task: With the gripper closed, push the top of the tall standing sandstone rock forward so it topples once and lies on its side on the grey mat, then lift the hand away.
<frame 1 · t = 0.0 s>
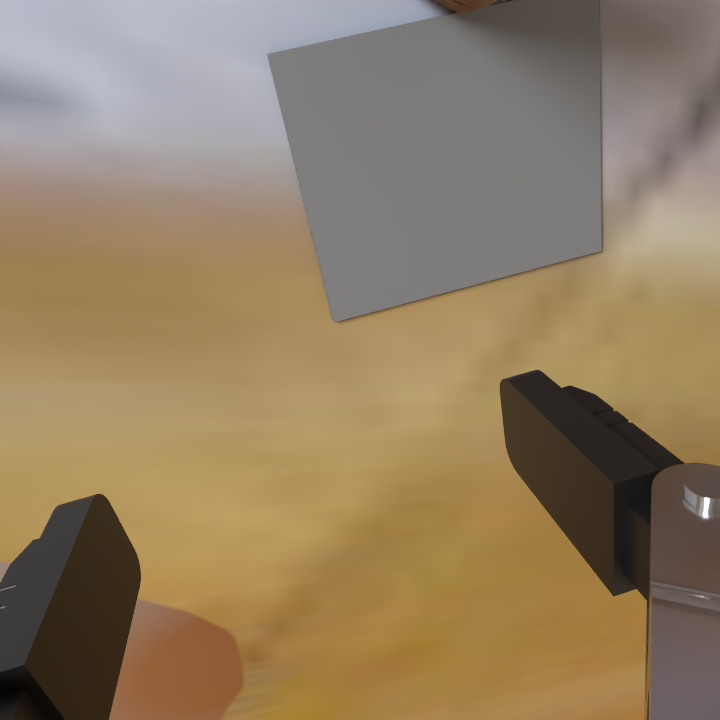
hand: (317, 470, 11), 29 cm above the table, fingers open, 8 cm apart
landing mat: (453, 164, 38), on the table
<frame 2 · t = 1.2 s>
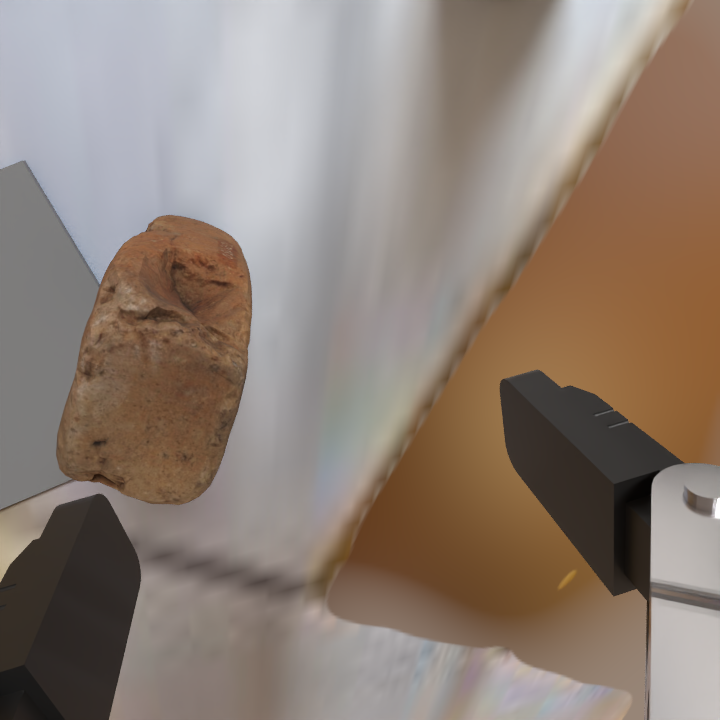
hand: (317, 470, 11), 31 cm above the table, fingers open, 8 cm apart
sandstone rock: (179, 285, 39), on the table, touching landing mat
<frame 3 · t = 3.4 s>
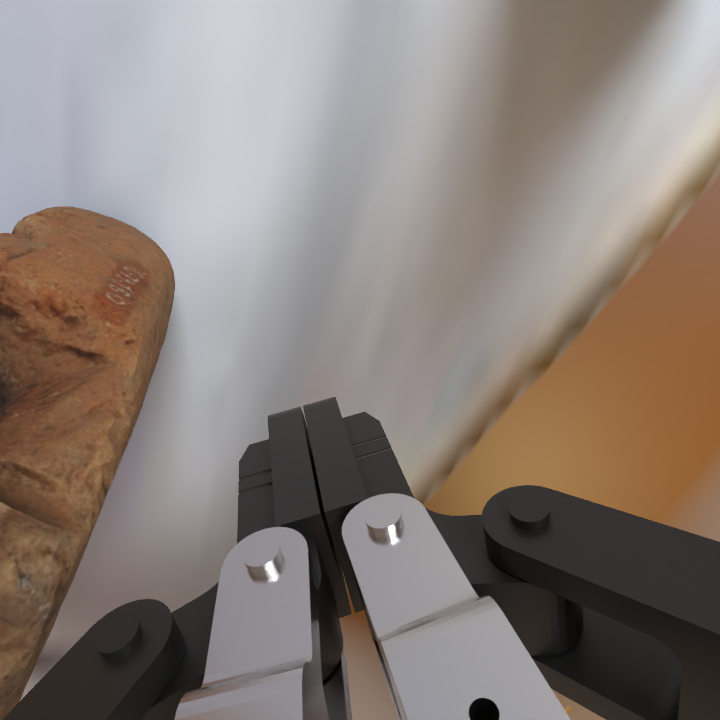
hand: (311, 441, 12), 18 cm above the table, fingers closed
sandstone rock: (85, 308, 27), on the table, touching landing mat
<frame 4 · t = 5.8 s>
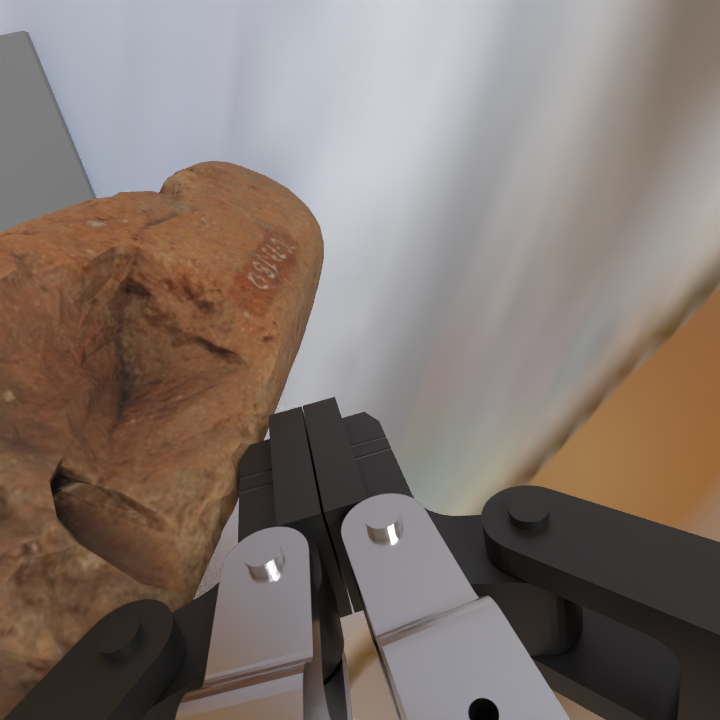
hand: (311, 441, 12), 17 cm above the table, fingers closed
sandstone rock: (230, 272, 25), point 1 cm above the table, touching gripper, hand, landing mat
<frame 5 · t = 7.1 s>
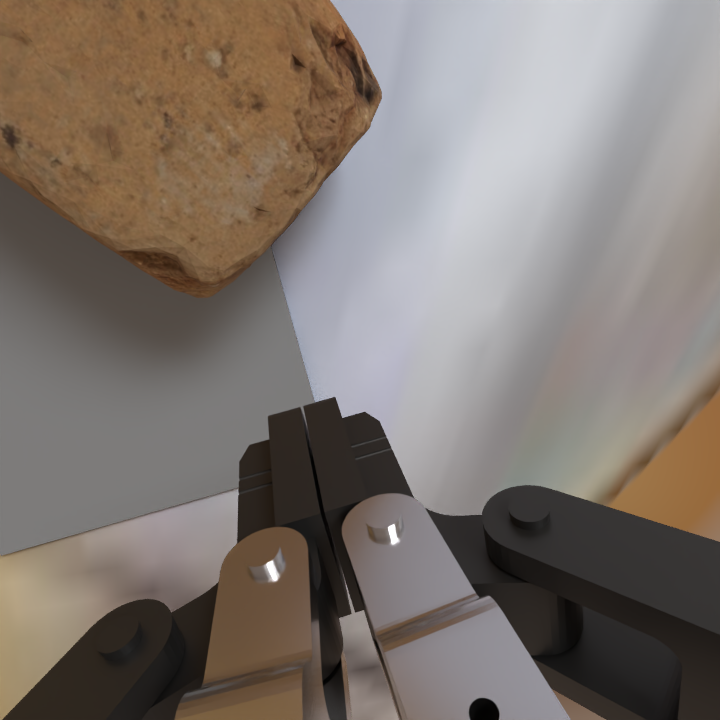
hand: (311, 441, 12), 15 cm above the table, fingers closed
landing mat: (87, 318, 25), on the table
sandstone rock: (297, 211, 20), point 5 cm above the table, touching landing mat
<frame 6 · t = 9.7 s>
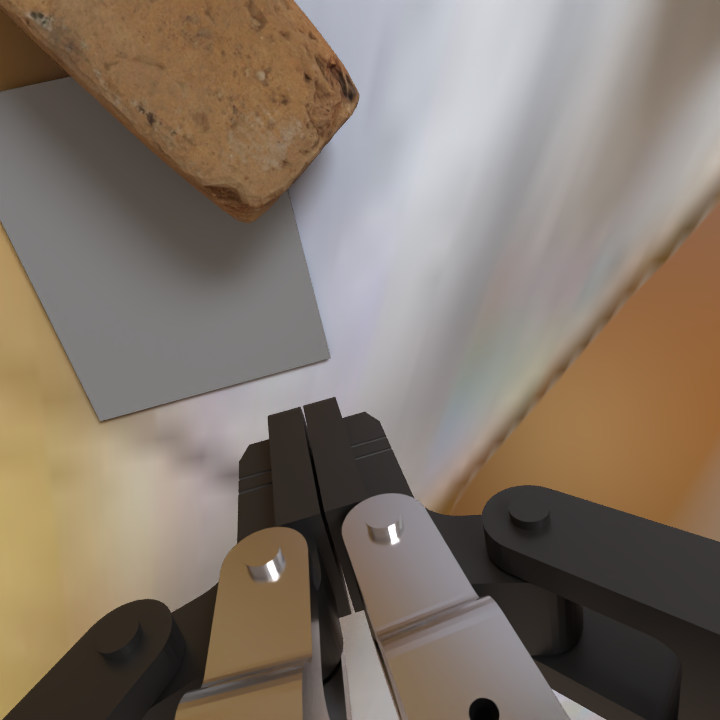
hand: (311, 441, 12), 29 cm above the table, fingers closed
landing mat: (167, 248, 37), on the table
sandstone rock: (307, 170, 32), point 5 cm above the table, touching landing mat
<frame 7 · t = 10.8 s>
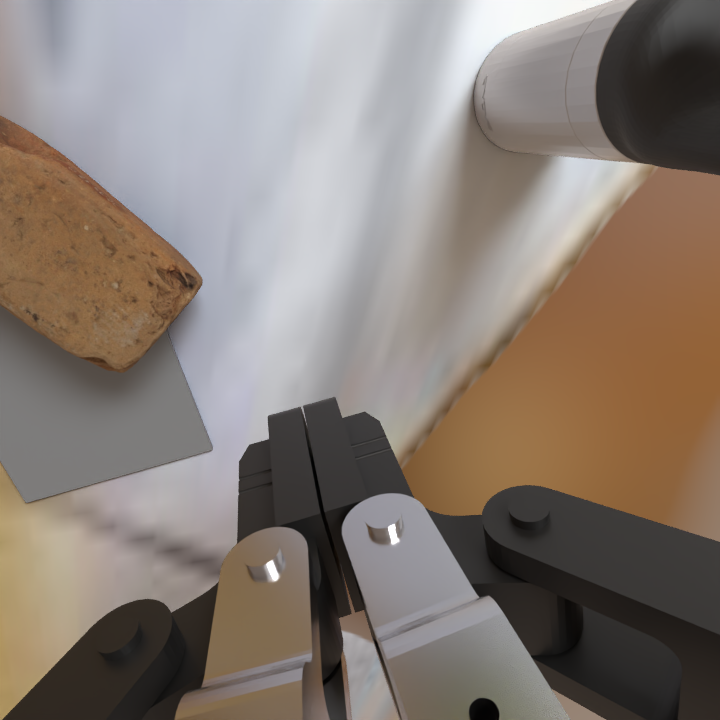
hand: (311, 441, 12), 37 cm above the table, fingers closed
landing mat: (73, 375, 47), on the table
sandstone rock: (167, 331, 42), point 5 cm above the table, touching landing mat
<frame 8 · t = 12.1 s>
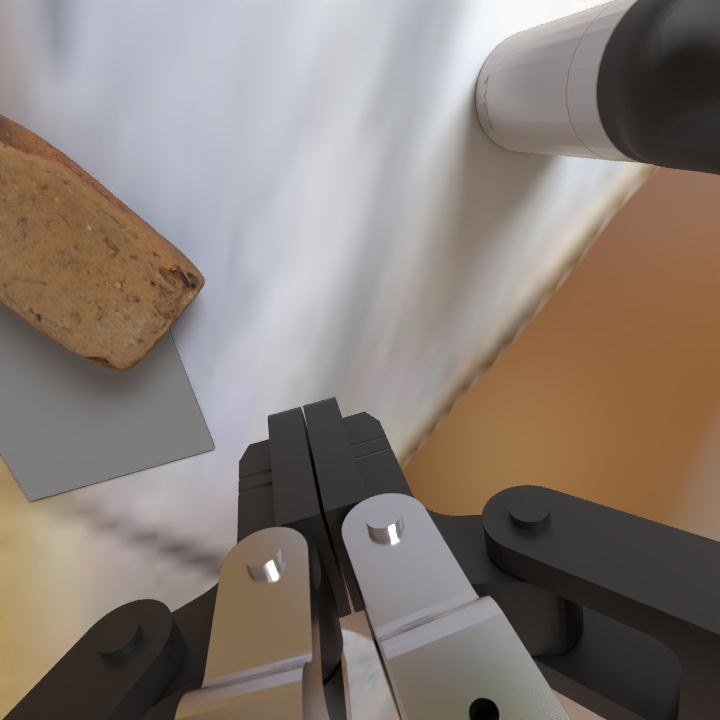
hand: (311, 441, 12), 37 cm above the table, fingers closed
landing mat: (76, 374, 47), on the table
sandstone rock: (169, 330, 42), point 5 cm above the table, touching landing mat
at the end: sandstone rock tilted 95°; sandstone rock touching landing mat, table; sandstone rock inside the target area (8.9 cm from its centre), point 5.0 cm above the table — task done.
